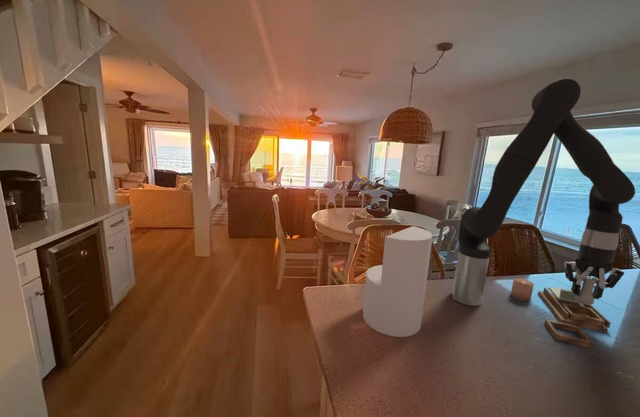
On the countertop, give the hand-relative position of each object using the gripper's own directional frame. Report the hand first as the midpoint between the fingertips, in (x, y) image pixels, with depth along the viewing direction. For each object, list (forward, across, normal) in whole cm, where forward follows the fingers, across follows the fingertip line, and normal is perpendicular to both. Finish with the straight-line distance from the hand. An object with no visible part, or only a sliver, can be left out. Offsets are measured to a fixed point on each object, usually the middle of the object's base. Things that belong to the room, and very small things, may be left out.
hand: (585, 295), depth 83 cm
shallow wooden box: (+8, +1, -5) cm, 10 cm away
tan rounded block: (+8, +14, -9) cm, 18 cm away
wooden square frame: (+8, +8, +12) cm, 17 cm away
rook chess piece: (+2, 0, 0) cm, 2 cm away
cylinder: (+8, +56, +27) cm, 62 cm away
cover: (+5, 0, -9) cm, 11 cm away
